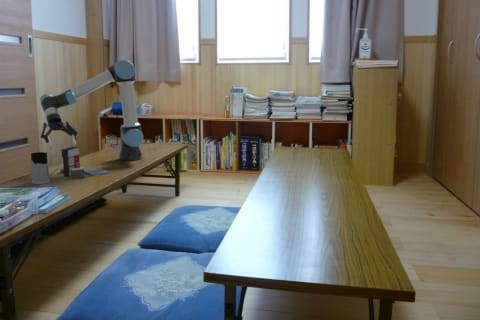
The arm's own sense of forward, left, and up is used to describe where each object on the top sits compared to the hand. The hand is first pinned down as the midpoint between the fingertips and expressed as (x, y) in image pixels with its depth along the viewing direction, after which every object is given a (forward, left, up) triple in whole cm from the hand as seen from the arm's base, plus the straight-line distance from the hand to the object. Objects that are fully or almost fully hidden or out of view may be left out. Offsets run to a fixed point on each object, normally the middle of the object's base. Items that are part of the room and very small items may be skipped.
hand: (63, 145), depth 248 cm
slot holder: (-1, +9, -15) cm, 18 cm away
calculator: (-1, +9, -15) cm, 18 cm away
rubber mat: (-14, +9, -15) cm, 23 cm away
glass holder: (+16, +18, -15) cm, 28 cm away
